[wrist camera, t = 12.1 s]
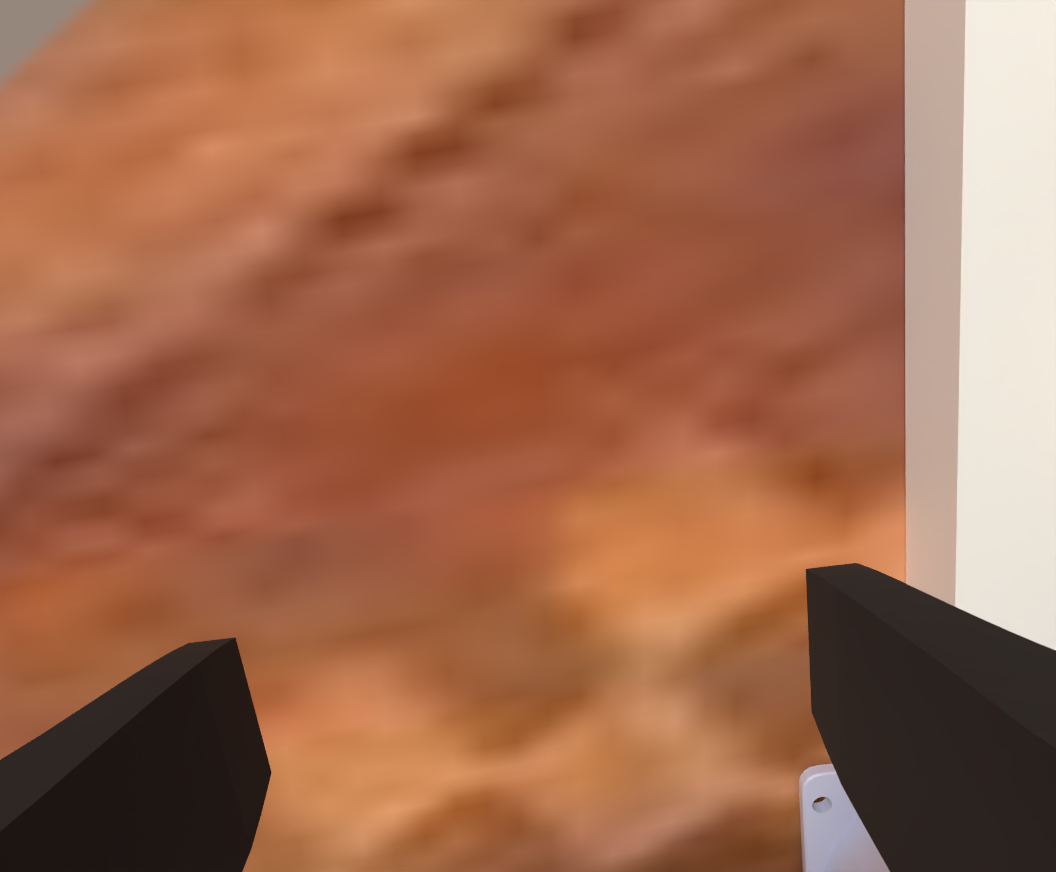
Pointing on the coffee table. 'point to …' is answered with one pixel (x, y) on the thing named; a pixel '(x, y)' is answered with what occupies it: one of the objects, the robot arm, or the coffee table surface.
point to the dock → (982, 308)
